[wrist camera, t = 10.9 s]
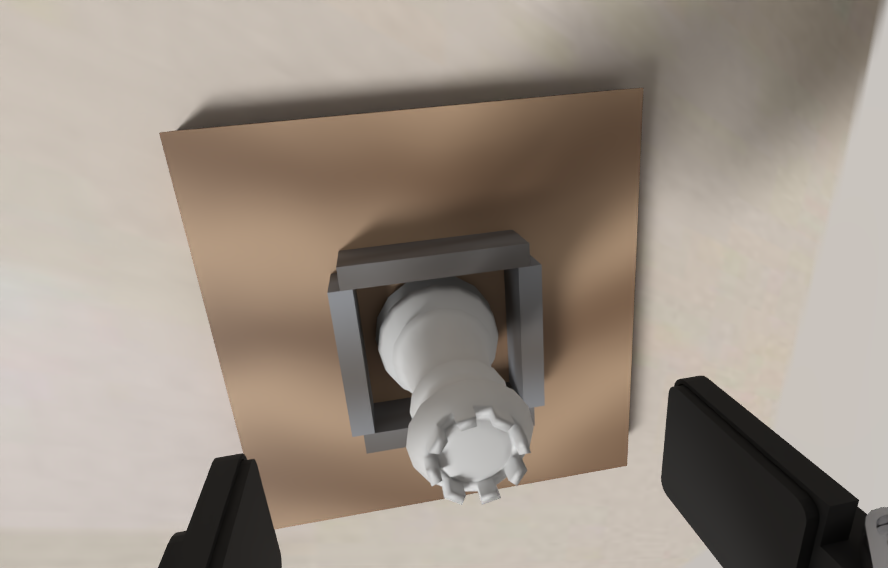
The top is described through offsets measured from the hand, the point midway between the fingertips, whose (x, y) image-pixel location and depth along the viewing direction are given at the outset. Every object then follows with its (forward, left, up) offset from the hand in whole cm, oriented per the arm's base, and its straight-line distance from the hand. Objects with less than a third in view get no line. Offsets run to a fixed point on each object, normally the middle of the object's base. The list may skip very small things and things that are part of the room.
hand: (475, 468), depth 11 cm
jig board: (+1, 0, -10) cm, 10 cm away
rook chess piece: (0, 0, -9) cm, 9 cm away
